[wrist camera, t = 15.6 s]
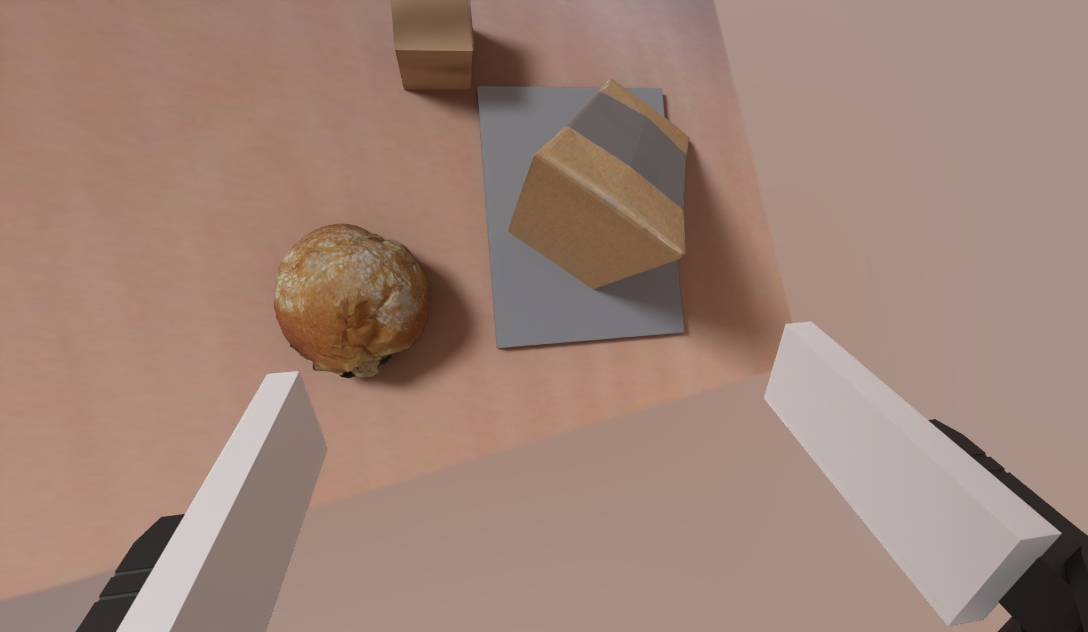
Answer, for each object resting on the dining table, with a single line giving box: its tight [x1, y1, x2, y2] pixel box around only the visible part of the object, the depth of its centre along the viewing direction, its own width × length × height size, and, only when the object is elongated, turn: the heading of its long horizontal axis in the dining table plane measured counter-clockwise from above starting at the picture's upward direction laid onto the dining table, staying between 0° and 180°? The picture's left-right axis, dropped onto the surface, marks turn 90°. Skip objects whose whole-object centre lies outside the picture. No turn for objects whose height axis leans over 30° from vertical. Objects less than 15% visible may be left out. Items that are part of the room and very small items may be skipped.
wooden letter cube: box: [391, 0, 474, 90], centre depth 34 cm, size 5×5×5 cm
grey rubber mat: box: [477, 86, 684, 348], centre depth 37 cm, size 20×15×1 cm
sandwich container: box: [508, 79, 689, 289], centre depth 30 cm, size 9×15×15 cm, turn 147°
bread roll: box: [274, 224, 429, 378], centre depth 32 cm, size 10×10×8 cm
